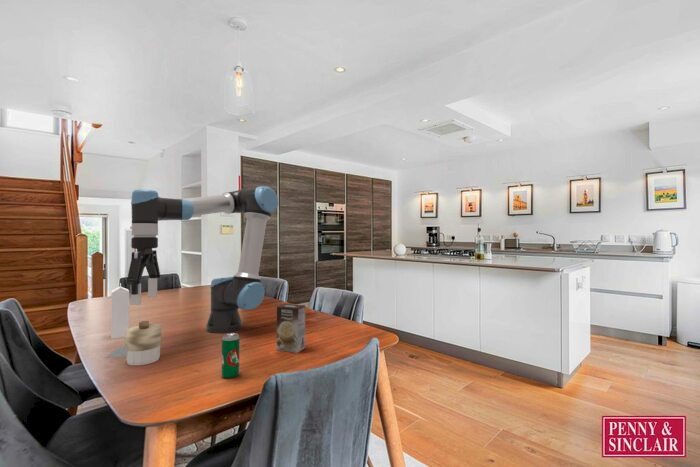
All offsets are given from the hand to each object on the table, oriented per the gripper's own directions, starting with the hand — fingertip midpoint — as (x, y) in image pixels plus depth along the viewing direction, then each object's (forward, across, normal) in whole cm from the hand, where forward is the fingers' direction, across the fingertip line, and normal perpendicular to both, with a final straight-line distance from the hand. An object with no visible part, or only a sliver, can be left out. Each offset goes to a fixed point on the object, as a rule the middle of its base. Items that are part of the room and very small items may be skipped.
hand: (144, 300), depth 112 cm
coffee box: (+21, -4, +48) cm, 52 cm away
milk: (+20, -32, -21) cm, 43 cm away
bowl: (+20, 0, 0) cm, 20 cm away
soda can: (+20, +17, +30) cm, 40 cm away
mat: (+20, -11, -8) cm, 24 cm away
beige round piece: (+15, 0, 0) cm, 15 cm away
